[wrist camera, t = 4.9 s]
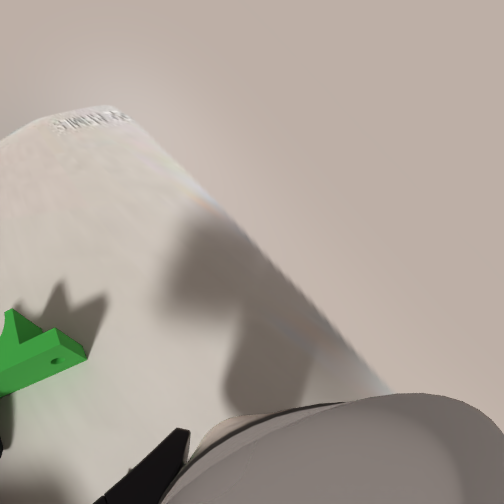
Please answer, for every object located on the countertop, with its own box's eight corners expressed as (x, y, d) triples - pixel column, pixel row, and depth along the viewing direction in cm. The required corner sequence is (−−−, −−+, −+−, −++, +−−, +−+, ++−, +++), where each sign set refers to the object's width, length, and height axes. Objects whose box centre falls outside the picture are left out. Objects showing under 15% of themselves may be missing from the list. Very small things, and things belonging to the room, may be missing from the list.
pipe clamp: (73, 315, 20) (46, 290, 16) (88, 360, 18) (61, 344, 14) (-24, 362, 16) (-58, 346, 12) (-14, 404, 14) (-50, 394, 10)
